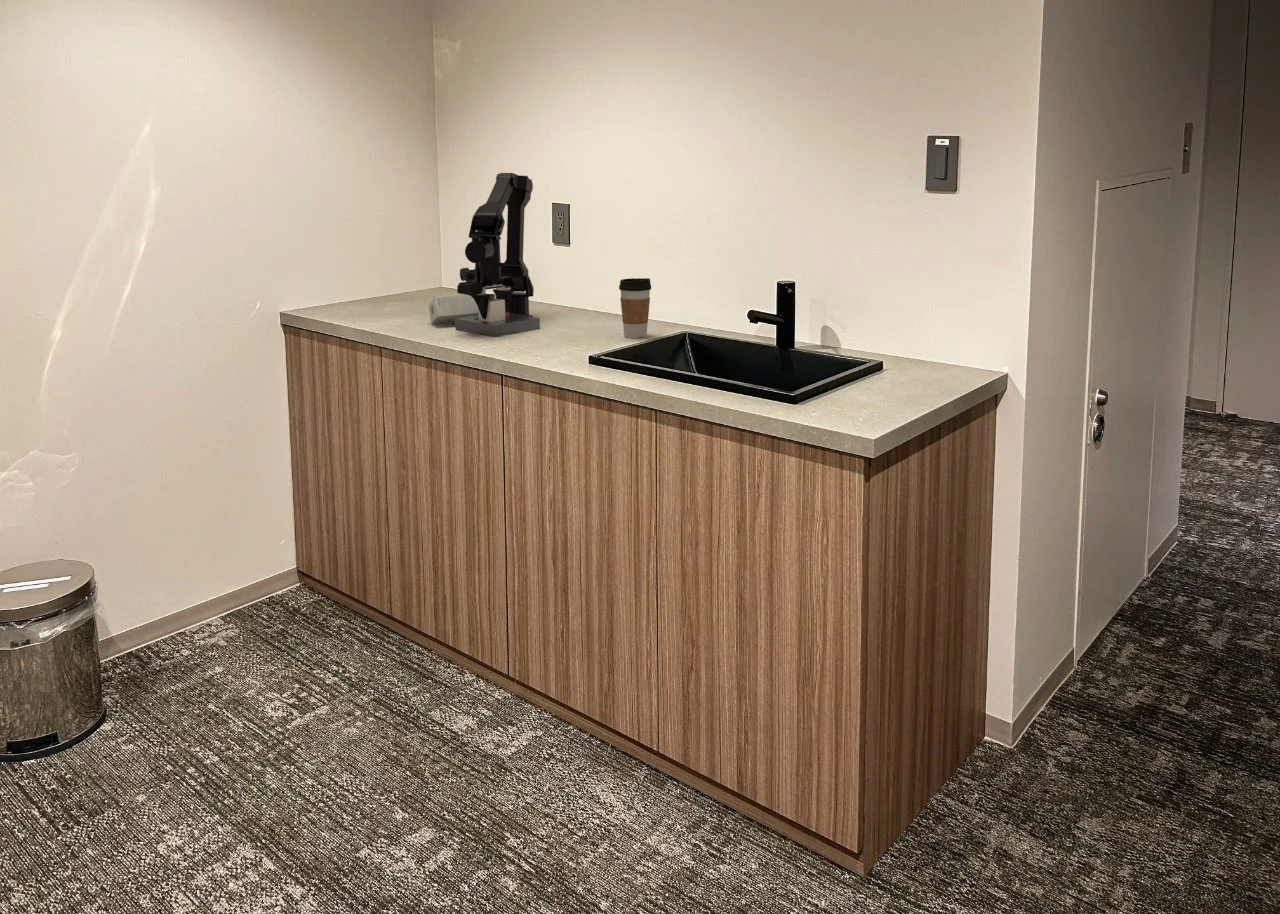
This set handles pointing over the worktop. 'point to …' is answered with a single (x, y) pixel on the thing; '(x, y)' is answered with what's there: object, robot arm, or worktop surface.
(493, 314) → the plug
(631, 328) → the coffee cup
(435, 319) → the skincare box
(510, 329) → the socket plate
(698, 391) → the worktop surface
